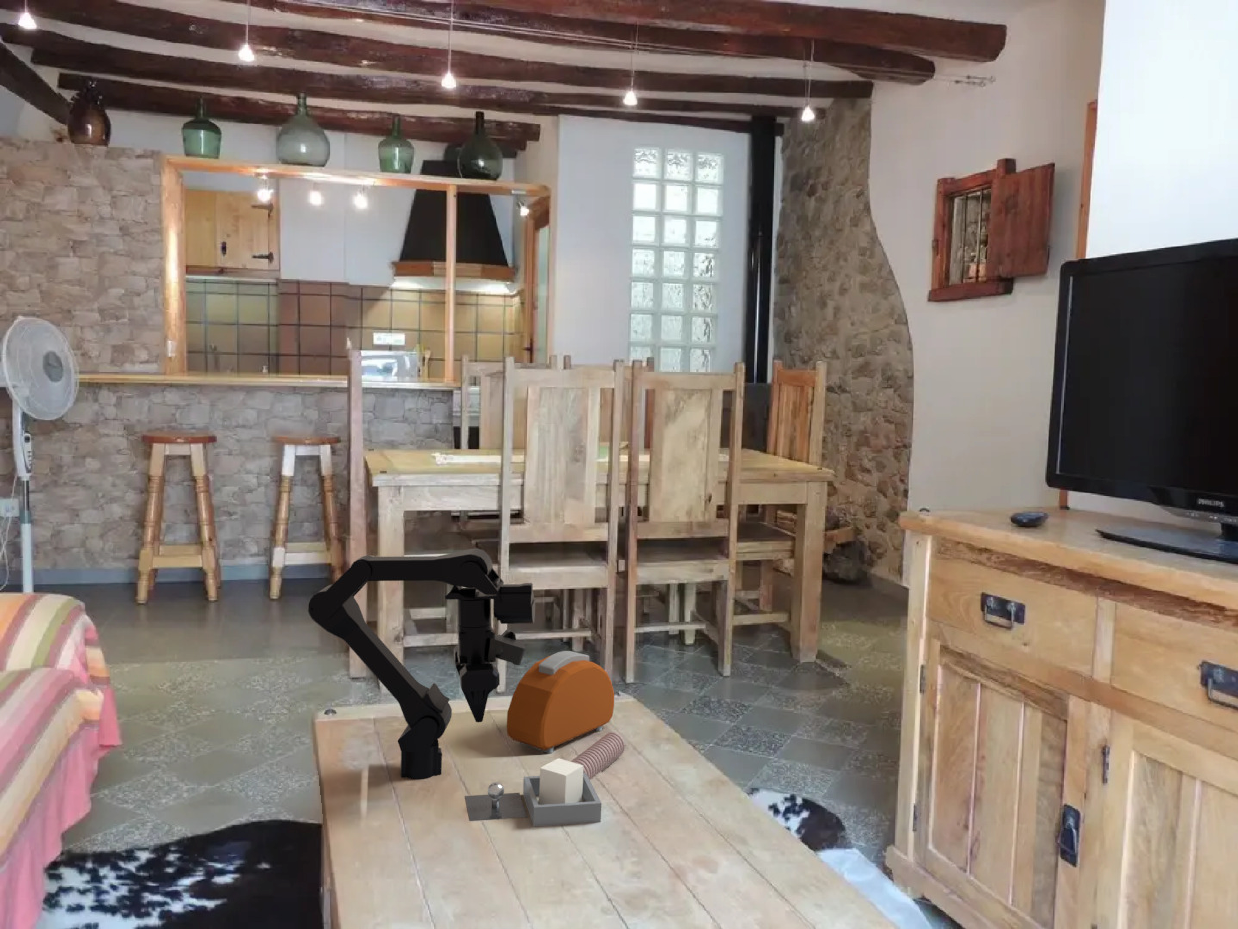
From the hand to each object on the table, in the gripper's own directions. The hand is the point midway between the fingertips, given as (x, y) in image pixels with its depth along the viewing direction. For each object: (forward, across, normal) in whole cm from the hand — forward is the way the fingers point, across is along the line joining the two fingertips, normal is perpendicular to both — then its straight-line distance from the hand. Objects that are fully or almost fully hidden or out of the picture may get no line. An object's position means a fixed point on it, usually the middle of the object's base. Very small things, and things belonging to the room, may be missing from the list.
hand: (476, 713), depth 163 cm
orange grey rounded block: (+13, +18, -18) cm, 29 cm away
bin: (+13, -14, -12) cm, 23 cm away
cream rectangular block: (+12, -14, -12) cm, 22 cm away
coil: (+14, +2, -21) cm, 25 cm away
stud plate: (+12, -12, -2) cm, 18 cm away
